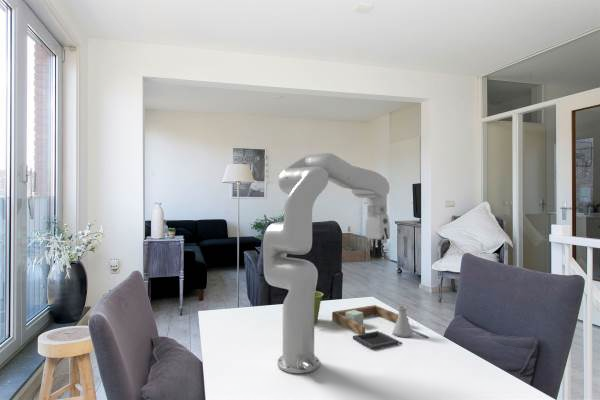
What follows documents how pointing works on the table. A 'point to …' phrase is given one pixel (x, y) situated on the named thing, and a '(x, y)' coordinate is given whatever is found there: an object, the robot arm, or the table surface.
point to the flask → (402, 324)
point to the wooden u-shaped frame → (367, 311)
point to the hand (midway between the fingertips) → (376, 256)
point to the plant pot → (317, 304)
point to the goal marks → (414, 332)
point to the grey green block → (355, 316)
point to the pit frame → (375, 340)
